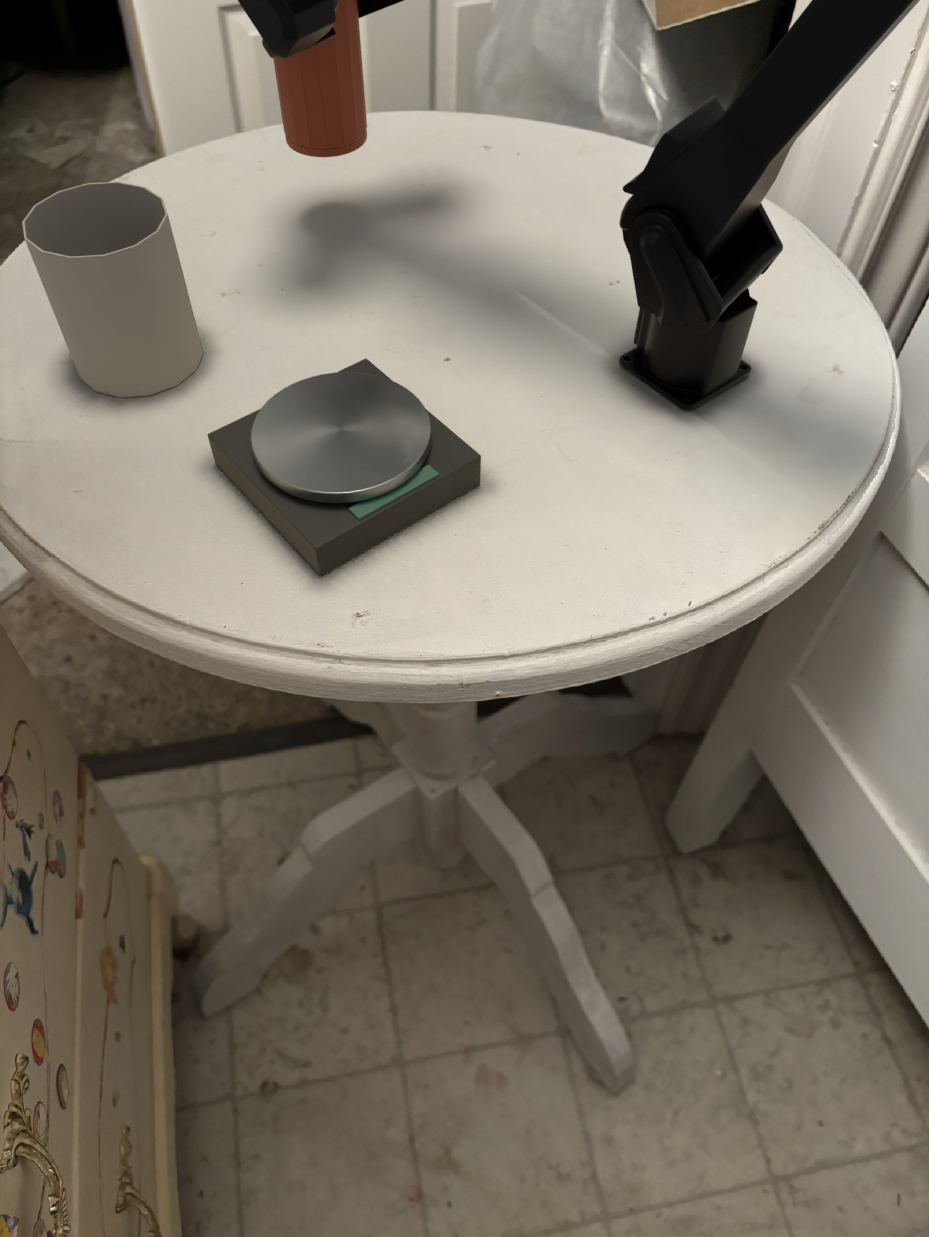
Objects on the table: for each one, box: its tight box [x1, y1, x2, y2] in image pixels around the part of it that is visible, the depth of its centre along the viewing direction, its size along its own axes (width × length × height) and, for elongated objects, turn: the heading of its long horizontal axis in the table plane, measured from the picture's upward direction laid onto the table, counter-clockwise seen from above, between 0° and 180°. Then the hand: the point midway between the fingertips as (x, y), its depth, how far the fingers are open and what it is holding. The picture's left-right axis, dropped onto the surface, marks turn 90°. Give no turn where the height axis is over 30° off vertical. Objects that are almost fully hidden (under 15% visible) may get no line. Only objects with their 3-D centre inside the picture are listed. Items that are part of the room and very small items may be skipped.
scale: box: [207, 358, 482, 577], centre depth 56 cm, size 12×12×3 cm
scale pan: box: [251, 371, 431, 503], centre depth 54 cm, size 10×10×1 cm
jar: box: [272, 0, 368, 158], centre depth 64 cm, size 6×6×12 cm
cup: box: [21, 181, 205, 398], centre depth 59 cm, size 8×8×10 cm
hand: (301, 35), depth 64 cm, fingers closed on jar, 6 cm apart
